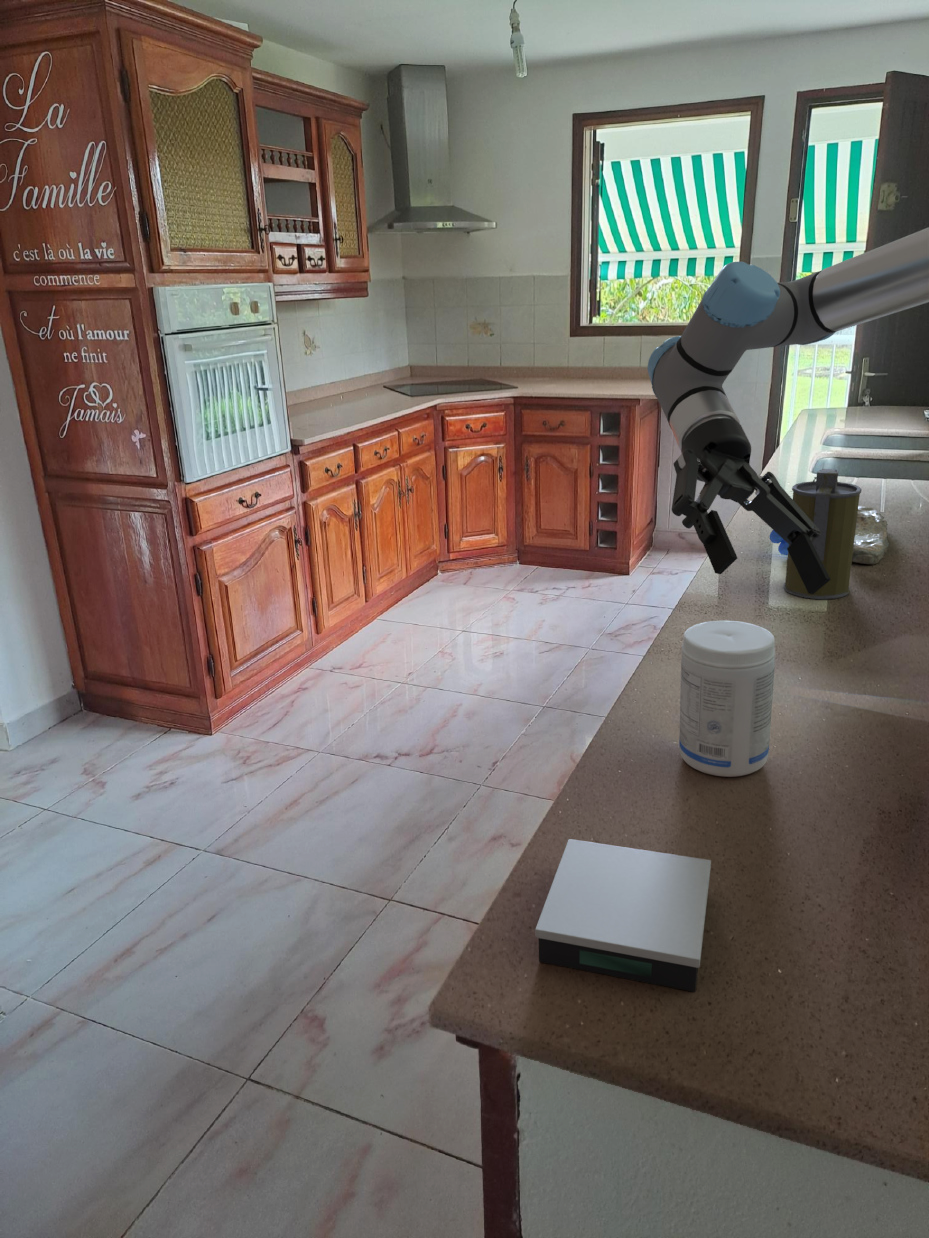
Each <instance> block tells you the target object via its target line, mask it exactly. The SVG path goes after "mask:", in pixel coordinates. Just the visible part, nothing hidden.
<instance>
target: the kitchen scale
mask: <svg viewBox="0 0 929 1238" xmlns="http://www.w3.org/2000/svg"><path fill="white" fill-rule="evenodd" d="M711 868H712V860H711V859H705V858H699V857H691V856H686V855H679V854H672V853H665V852H660V851H653V850H644V849H640V848H639V849H638V848H632V847H625V846H617V845H612V844H607V843H606V844H605V843H598V842H592V841H585V840H578V839H571V838H568V839H567V842H566V844H565V848H564V850H563V853H562V856H561V859H560V861H559V864H558V867H557V870H556V872H555V875H554V877H553V880H552V883H551V885H550V888H549V891H548V894H547V896H546V898H545V902H544V904H543V907H542V909H541V912H540V915H539V918H538V920H537V924H536V927H535V929H534V933H535V935H534V937H535V938H536V939H538V961H539V963H543V964H548V965H554V966H560V967H565V968H568V969H573V970H574V969H575V970H580V971H584V972H590V973H595V974H600V975H606V976H610V977H615V978H621V979H626V980H631V981H635V982H640V983H646V984H650V985H656V986H661V987H666V988H671V989H677V990H681V991H687V992H692V993H695V992H696V989H697V982H698V981H697V980H698V971H699V968H700V967H701V959H702V950H703V949H702V948H703V941H704V940H703V939H704V932H705V922H706V914H707V913H706V912H707V904H708V895H709V886H710V879H711V878H710V877H711Z"/></svg>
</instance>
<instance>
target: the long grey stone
mask: <svg viewBox="0 0 929 1238" xmlns="http://www.w3.org/2000/svg"><path fill="white" fill-rule="evenodd" d="M887 526H888V521H887V520H886V519H885V516H883V515H882V513H880V512H879V511H878V510H876V509H874V508H873V507H871V506H865V505H858V513H857V522H856V530H855V538H854V547H853V555H852V563H856V564H864V565H875V564H878V563H879V562H881V561H880V560H882V559H883V558H884V556H885V554H886V553H887V550H888V549H887V548H888V547H889V546H890V543H889V541H888V539H887V538H888V537H887V536H888V527H887Z"/></svg>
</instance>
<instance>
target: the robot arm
mask: <svg viewBox="0 0 929 1238" xmlns="http://www.w3.org/2000/svg"><path fill="white" fill-rule="evenodd" d="M927 303H929V226H928V227H926V228H923V229H920V230H918V231H916V232H913V233H911V234H908V235H906V236H903V237H901V238H898V239H895V240H894V241H891V242H888V243H885V244H884V245H881V246H878V247H876V248H873V249H871V250H868V251H865V252H863V253H860V254H858V255H855V256H853V257H850V258H847V259H845V260H843V261H840V262H838V263H836V264H833V265H831V266H828V267H826V268H823V269H822V270H819V271H816V272H813V273H810V274H808V275H806V276H802V277H801V278H798V279H795V280H791V281H781V282H777V281H776V279H775V278H774V277H773V276H772V275H771V274H770V273H769V272H768V271H766V270H764V269H763V268H761V267H759V266H757V265H755V264H748V263H747V262H744V261H732V262H728V263H727V264H725V265H724V266H723V267H722V268H721V269H720V270H719V272H718V274H717V275H716V277H715V278H714V280H713V281H712V283H711V284H710V286H708V287H707V289H706V290H705V291H704V293H703V296H702V298H701V300H700V301H699V304H698V305H697V306H696V309H695V310H694V312H693V314H692V316H691V318H690V319H689V321H688V323H687V324H686V327H685V328H684V329H683V332H682V334H681V335H677V336H672V337H669V338H667V339H665V340H664V341H663V343H662V344H661V345H659V346H657V347H655V349H654V350H653V351H652V353H650V356H649V359H648V360H647V361H648V362H647V374H648V378H649V380H650V383H651V388H652V393H653V394H654V396H655V398H656V399H657V401H658V403H659V405H660V407H661V410H662V411H663V414H664V416H665V418H666V420H667V423H668V425H669V428H670V430H671V432H672V434H673V436H674V439H675V441H676V443H677V446H678V449H679V450H680V453H681V454H680V455H679V456H678V457H677V458H676V460H675V461H674V462H673V467H674V470H675V471H674V472H675V474H676V477H675V484H674V490H673V496H672V502H671V503H672V504H671V512H672V514H673V515H675V516H676V517H681V516H682V515H683V516H685V517H684V518H683V519H682V520H681V524H682V525H683V527H684V528H686V529H689V530H690V529H692V527H693V528H694V530H695V533H696V535H697V537H698V540H699V541H700V543H701V544H702V545H703V548H704V550H705V553H706V554H707V557H708V559H709V562H710V565H711V566H712V569H713V572H714V574H717V575H722V574H723V573H724V572H726V570H727V569H728V568H729V567H730V566H731V565H732V564H733V563H734V562H736V560H738V556H737V553H736V551H735V549H734V546H733V544H732V542H731V539H730V537H729V535H728V533H727V530H726V528H725V526H724V524H723V522H722V520H721V517H720V515H719V512H718V510H713V509H711V510H710V508H711V507H712V504H713V503H714V501H715V500H716V497H718V496H719V497H720V499H722V500H730V501H733V502H735V503H737V504H739V506H741V508H743V509H744V510H745V511H747V512H753V513H755V515H756V516H757V517H759V519H761V520H762V521H763V522H764V523H765V524H766V525H767V526H768V527H769V528H770V529H771V530H774V531H775V532H776V533H777V534H778V535H779V536H780V537H781V538H783V539H784V540H785V541H786V542H787V543H788V544H789V545H790V546H789V547H788V548H787V550H788V552H789V554H790V556H791V558H792V560H793V563H794V565H795V567H796V569H797V571H798V573H799V575H800V577H801V579H802V581H803V583H804V585H805V587H806V589H807V591H808V593H809V594H814V593H815V592H817V591H818V590H819V589H820V588H821V587H823V586H824V585H825V584H826V583H827V582H829V581H830V580H831V579H830V577H829V575H828V573H827V571H826V569H825V567H824V565H823V563H822V561H821V559H820V557H819V555H818V553H817V551H816V549H815V547H814V545H813V543H812V542H813V541H814V540H815V539H816V538H817V537H818V536H820V535H821V531H820V530H819V529H818V528H817V527H816V525H815V524H814V523H813V522H812V521H811V520H810V519H809V517H808V516H807V515H806V514H805V513H804V512H803V511H802V510H801V508H800V507H799V506H798V505H797V504H796V503H795V502H794V501H793V497H791V495H789V493H788V492H787V491H786V490H785V488H783V487H782V486H781V484H780V483H779V480H778V479H777V477H776V476H775V474H773V472H772V471H767V472H766V473H765V474H763V475H758V473H757V472H756V470H755V469H754V468H753V467H752V466H751V465H750V463H751V455H752V444H751V442H750V440H749V438H748V436H747V434H746V432H745V430H744V427H743V426H742V424H741V422H740V419H739V418H738V415H737V414H736V412H735V410H734V407H733V406H732V404H731V402H730V401H729V399H728V396H727V394H726V392H725V390H724V388H723V385H724V383H725V381H726V380H727V378H728V377H729V375H730V374H731V373H732V372H733V370H734V368H735V367H736V366H737V364H738V363H739V361H740V360H741V358H742V357H743V355H744V354H745V352H746V351H751V350H752V351H753V350H759V349H761V350H762V349H770V348H775V347H785V346H794V345H799V346H807V345H810V344H815V343H818V342H821V341H825V340H827V339H829V338H831V337H832V336H833V335H835V334H836V333H837V332H839V331H843V330H845V329H849V328H852V327H856V326H858V325H861V324H866V323H868V322H871V321H874V320H877V319H880V318H883V317H886V316H889V315H893V314H896V313H899V312H902V311H906V310H908V309H911V308H915V307H919V306H921V305H923V304H927ZM698 481H699V482H703V483H704V484H703V487H702V488H701V490H700V491H699V493H698V494H699V495H698V496H697V498H696V491H697V484H698ZM753 494H754V495H755V496H754V498H753V499H752V500H749V498H750V497H751V496H752V495H753ZM709 510H710V511H709ZM708 511H709V512H708Z"/></svg>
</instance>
